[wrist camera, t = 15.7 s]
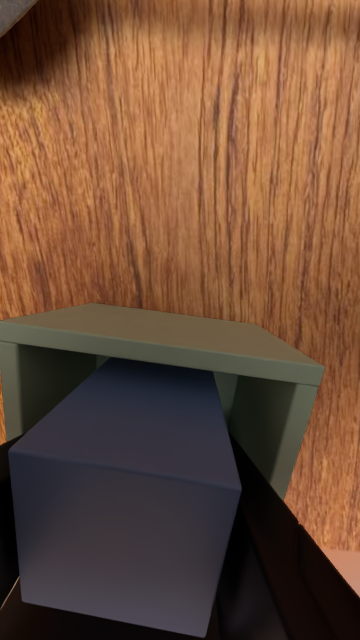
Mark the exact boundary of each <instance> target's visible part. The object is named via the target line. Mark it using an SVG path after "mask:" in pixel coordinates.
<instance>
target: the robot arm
mask: <svg viewBox="0 0 360 640" xmlns="http://www.w3.org/2000/svg"><path fill="white" fill-rule="evenodd" d="M227 430H228V429H227ZM27 432H28V431H27ZM27 432H25V433H23V434H21V435H19V436H17V437H15V438H13V439H11V440H9V441H7V442H5V443H3V444H2V445H0V609H1V607H2V605H3V603H4V602H5V600H6V598H7V597H8V595H9V593H10V591H11V590H12V588H13V586H14V584H15V583H16V581H17V579H18V578H19V576H20V575H19V564H18V553H17V542H16V531H15V521H14V510H13V499H12V488H11V477H10V467H9V456H8V451H9V449H10V448H11V447H12V446H13V445H14V444H15V443H16V442H17V441H18V440H19V439H20V438H22V437H23V436H24V435H25V434H26V433H27ZM228 434H229V438H230V442H231V446H232V450H233V454H234V458H235V462H236V467H237V471H238V475H239V479H240V483H241V487H242V490H241V494H240V498H239V502H238V507H237V511H236V515H235V519H234V523H233V527H232V531H231V535H230V539H229V543H228V547H227V551H226V555H225V559H224V563H223V567H222V572H221V576H220V580H219V584H218V588H217V592H216V596H215V598H216V607H217V617H218V626H219V635H220V640H360V597H359V596H358V595H357V593H356V592H355V591H354V590H353V589H352V588H351V586H350V585H349V584H348V583H347V582H346V580H345V579H344V578H343V577H342V575H341V574H340V573H339V572H338V570H337V569H336V568H335V567H334V565H333V564H332V563H331V562H330V560H329V559H328V558H327V557H326V555H325V554H324V553H323V552H322V550H321V549H320V548H319V546H318V545H317V544H316V543H315V541H314V540H313V539H312V537H311V536H310V535H309V534H308V532H307V531H306V530H305V528H304V527H303V526H302V525H301V524H299V522H298V520H297V518H296V517H295V516H294V514H293V513H292V512H291V510H290V509H289V508H288V507H287V505H286V504H285V503H284V501H283V500H282V499H281V497H280V496H279V495H278V494H277V492H276V491H275V490H274V488H273V487H272V486H271V485H270V483H269V482H268V481H267V479H266V478H265V477H264V475H263V474H262V473H261V472H260V470H259V469H258V468H257V466H256V465H255V464H254V462H253V461H252V460H251V459H250V457H249V456H248V455H247V453H246V452H245V451H244V450H243V448H242V447H241V446H240V444H239V443H238V442H237V440H236V439H235V438H234V437H233V435H232V434H231V433H230V431H229V430H228Z"/></svg>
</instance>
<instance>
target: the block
mask: <svg viewBox="0 0 360 640" xmlns="http://www.w3.org/2000/svg"><path fill="white" fill-rule="evenodd" d="M8 456H9V467H10V477H11V488H12V499H13V510H14V521H15V531H16V542H17V553H18V564H19V575H20V586H21V596H22V601H23V602H26V603H31V604H36V605H41V606H46V607H51V608H56V609H62V610H67V611H72V612H77V613H82V614H87V615H92V616H97V617H102V618H107V619H112V620H117V621H122V622H127V623H132V624H137V625H142V626H147V627H152V628H157V629H162V630H167V631H172V632H177V633H182V634H187V635H192V636H197V637H202V638H204V637H205V636H206V633H207V628H208V624H209V620H210V616H211V612H212V608H213V604H214V600H215V596H216V592H217V588H218V584H219V580H220V576H221V572H222V567H223V563H224V559H225V555H226V551H227V547H228V543H229V539H230V535H231V531H232V527H233V523H234V519H235V515H236V511H237V507H238V502H239V498H240V494H241V490H242V487H241V483H240V479H239V475H238V471H237V467H236V462H235V458H234V454H233V450H232V446H231V442H230V438H229V434H228V430H227V426H226V422H225V418H224V413H223V409H222V405H221V401H220V397H219V393H218V389H217V385H216V381H215V377H214V373H213V371H207V370H200V369H193V368H186V367H179V366H172V365H165V364H158V363H151V362H144V361H137V360H130V359H123V358H116V357H110V358H109V359H108V360H107V361H106V362H104V363H103V364H102V365H101V366H100V367H99V368H98V369H97V370H96V371H95V372H93V373H92V374H91V375H90V376H89V377H88V378H87V379H86V380H85V381H83V382H82V383H81V384H80V385H79V386H78V387H77V388H76V389H75V390H74V391H72V392H71V393H70V394H69V395H68V396H67V397H66V398H65V399H64V400H62V401H61V402H60V403H59V404H58V405H57V406H56V407H55V408H54V409H53V410H51V411H50V412H49V413H48V414H47V415H46V416H45V417H44V418H43V419H41V420H40V421H39V422H38V423H37V424H36V425H35V426H34V427H33V428H32V429H30V430H29V431H28V432H27V433H26V434H25V435H24V436H23V437H22V438H20V439H19V440H18V441H17V442H16V443H15V444H14V445H13V446H12V447H11V448H10V449H9V451H8Z"/></svg>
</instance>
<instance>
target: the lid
mask: <svg viewBox="0 0 360 640" xmlns="http://www.w3.org/2000/svg"><path fill="white" fill-rule="evenodd" d="M0 640H220V635H219V626H218V617H217V607H216V598H215V600H214V604H213V608H212V612H211V616H210V620H209V624H208V628H207V633H206V636H205V637H204V638H202V637H197V636H192V635H187V634H182V633H177V632H172V631H167V630H162V629H157V628H152V627H147V626H142V625H137V624H132V623H127V622H122V621H117V620H112V619H107V618H102V617H97V616H92V615H87V614H82V613H77V612H72V611H67V610H62V609H56V608H51V607H46V606H41V605H36V604H31V603H26V602H23V601H22V596H21V586H20V576H19V578H18V579H17V581H16V583H15V584H14V586H13V588H12V590H11V591H10V593H9V595H8V597H7V598H6V600H5V602H4V603H3V605H2V608H1V609H0Z"/></svg>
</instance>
